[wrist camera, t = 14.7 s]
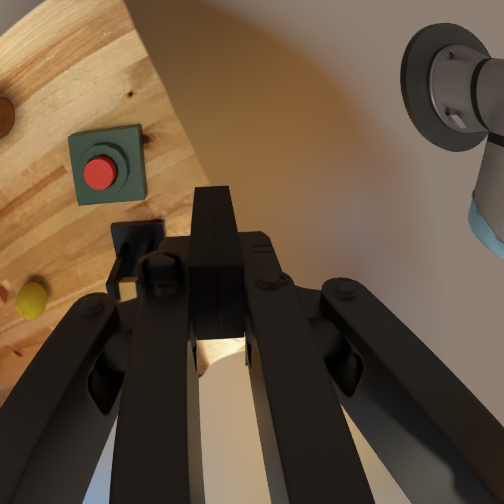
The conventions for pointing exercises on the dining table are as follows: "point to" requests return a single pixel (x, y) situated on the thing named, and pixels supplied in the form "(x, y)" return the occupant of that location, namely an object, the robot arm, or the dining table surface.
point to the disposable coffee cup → (6, 116)
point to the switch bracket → (132, 250)
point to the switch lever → (128, 288)
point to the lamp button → (100, 172)
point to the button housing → (121, 153)
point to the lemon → (31, 300)
